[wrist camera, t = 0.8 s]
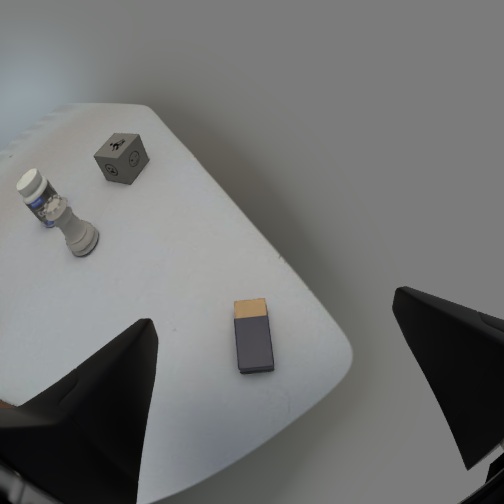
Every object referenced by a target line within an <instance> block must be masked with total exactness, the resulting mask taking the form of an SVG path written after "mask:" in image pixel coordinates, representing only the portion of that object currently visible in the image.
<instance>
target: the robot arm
mask: <svg viewBox="0 0 504 504" xmlns="http://www.w3.org/2000/svg"><path fill="white" fill-rule="evenodd" d="M392 310H393V313H394V315H395V318H396V320H397V322H398V324H399V326H400V329H401V331H402V333H403V335H404V337H405V340H406V342H407V344H408V346H409V347H410V349H411V351H412V353H413V354H414V356H415V358H416V360H417V362H418V364H419V366H420V367H421V369H422V371H423V373H424V375H425V377H426V379H427V381H428V382H429V385H430V387H431V389H432V391H433V393H434V395H435V397H436V399H437V401H438V403H439V405H440V407H441V409H442V411H443V413H444V416H445V418H446V420H447V422H448V425H449V426H450V429H451V432H452V434H453V436H454V439H455V441H456V444H457V446H458V449H459V451H460V454H461V456H462V459H463V462H464V464H465V467H466V469H467V470H470V469H471V468H472V467H474V466H475V465H476V464H478V463H479V462H480V461H482V460H483V459H484V458H486V457H487V456H488V455H489V454H491V453H492V452H493V451H494V450H496V449H497V448H498V447H499V446H500V445H501V447H502V448H503V450H504V320H502V319H499V318H496V317H493V316H490V315H487V314H484V313H481V312H477V311H476V310H473V309H470V308H467V307H464V306H462V305H459V304H456V303H453V302H450V301H447V300H445V299H442V298H439V297H436V296H433V295H430V294H427V293H424V292H421V291H418V290H415V289H413V288H409V287H407V286H404V287H399V288H397V289H396V291H395V296H394V301H393V306H392ZM157 353H158V336H157V333H156V330H155V327H154V324H153V321H152V320H151V319H150V318H146V319H139V320H138V321H137V322H135V323H134V324H133V325H131V326H130V327H129V328H127V329H126V330H125V331H123V332H122V333H121V334H119V335H118V336H117V337H115V338H114V339H113V340H111V341H110V342H109V343H108V344H106V345H105V346H104V347H102V348H101V349H100V350H98V351H97V352H96V353H94V354H93V355H92V356H91V357H89V358H88V359H87V360H85V361H84V362H83V363H81V364H80V365H79V366H78V367H77V368H76V369H74V370H72V371H71V372H70V373H69V374H67V375H66V376H65V377H63V378H62V379H60V380H59V381H58V382H56V383H55V384H53V385H52V386H50V387H49V388H47V389H46V390H44V391H43V392H41V393H40V394H38V395H37V396H35V397H34V398H32V399H31V400H29V401H27V402H26V403H24V404H22V405H20V406H18V407H14V408H2V407H0V504H136V503H137V492H138V481H139V473H140V465H141V458H142V451H143V444H144V437H145V431H146V425H147V419H148V413H149V408H150V402H151V397H152V392H153V387H154V382H155V375H156V363H157ZM458 504H504V453H503V454H502V455H500V457H498V458H497V459H496V460H495V461H494V462H493V463H491V464H490V467H489V471H488V475H487V479H486V482H485V484H484V485H483V486H482V487H480V488H479V489H478V490H476V491H475V492H474V493H472V494H471V495H470V496H468V497H467V498H466V499H464V500H462V501H461V502H460V503H458Z"/></svg>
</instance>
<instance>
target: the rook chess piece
mask: <svg viewBox="0 0 504 504" xmlns="http://www.w3.org/2000/svg"><path fill="white" fill-rule="evenodd" d="M54 198H55V199H52V198H51V197H50V198H49V199H48V201H49V202H50V203H49V204H47V203H45V205H44V208H45V209H44V212H45V213H46V219H47V220H48V221H54V225H55V226H56V227H59V228H60V229H61V231H62V232H63V234H64V235H65V240H66V244H67V246H68V248H69V250H71V251H72V253H73V254H74V255H76V256H81V255H85V254H87V253H89V252H90V251H91V250H92V249H93V248H94V246H95V245H96V242H97V238H98V233H97V230H96V228H95V227H93V225H92V224H91V223H89V222H87V221H84V220H80V219H79V218H78V217H77V216H75V215H74V214H73V212H72V209H71V207H67V199H66V198H64V197H61V196H60V195H59V196H58V195H57V194H56V195H54Z"/></svg>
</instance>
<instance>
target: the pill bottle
mask: <svg viewBox="0 0 504 504" xmlns="http://www.w3.org/2000/svg"><path fill="white" fill-rule="evenodd" d="M17 190H18V192H19V193H20V194H21V195H22V196H23V201H24V203H25V204H26V205H27V206H28V208H29V209H30V210H31V211H32V212H33V213H34V215H35V216H36V217H37V218H38V219H39V220H40V221H41V222H42V223H43V225H44V226H46V227H52V226H54V221H48V220H47V219H46V213H45V212H44V209H45V208H44V205H45V203H47V204H49V203H50V202H49V201H48V199H49V198H50V197H51V198H52V199H55V198H54V195H56V194H57V192H56V191H55V190H54V188H53V187H52V185H51V184H50V183H49V181H48V180H47V179H46V178H45V177H41V174H40V173H39V171H38V170H37V169H36V168H33V169H31V170H29V171H28V172H27V173H25V174H24V175H23V176H22V178H21V179H20V180H19V182H18V184H17ZM57 195H58V194H57ZM58 196H59V195H58Z"/></svg>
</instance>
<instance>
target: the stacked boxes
mask: <svg viewBox="0 0 504 504" xmlns="http://www.w3.org/2000/svg"><path fill="white" fill-rule="evenodd" d="M234 307H235V319H234V323H235V335H236V346H237V357H238V368H239V370H240V373H241V374H252V373H262V372H270V371H274V360H273V352H272V344H271V336H270V328H269V320H268V315H267V307H266V302H265V298H263V299H254V300H244V301H235V302H234Z"/></svg>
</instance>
